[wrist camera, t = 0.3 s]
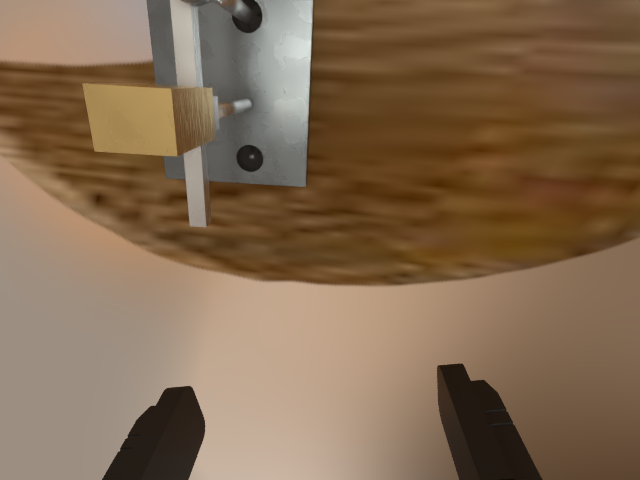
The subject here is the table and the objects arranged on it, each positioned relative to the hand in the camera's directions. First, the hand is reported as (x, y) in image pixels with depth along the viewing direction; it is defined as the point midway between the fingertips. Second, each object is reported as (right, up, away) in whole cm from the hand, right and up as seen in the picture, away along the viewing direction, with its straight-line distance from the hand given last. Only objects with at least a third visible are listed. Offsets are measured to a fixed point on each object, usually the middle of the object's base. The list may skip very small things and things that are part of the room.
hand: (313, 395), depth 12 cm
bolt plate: (-8, +19, +23) cm, 31 cm away
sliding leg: (-8, +17, +22) cm, 29 cm away
